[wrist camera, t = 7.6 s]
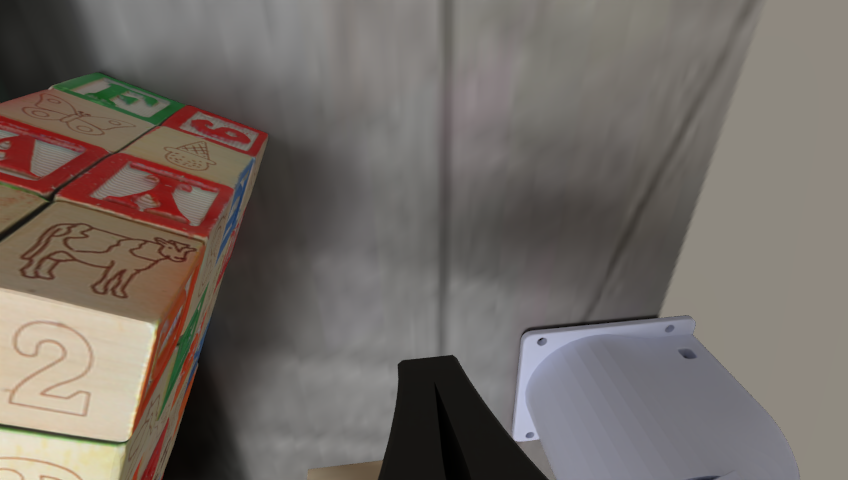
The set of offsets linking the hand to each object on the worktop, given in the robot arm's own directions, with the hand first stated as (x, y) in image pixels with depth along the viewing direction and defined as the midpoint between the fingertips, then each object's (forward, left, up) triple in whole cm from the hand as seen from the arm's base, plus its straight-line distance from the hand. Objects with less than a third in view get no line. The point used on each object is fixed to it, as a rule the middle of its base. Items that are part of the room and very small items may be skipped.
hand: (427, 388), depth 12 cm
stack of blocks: (+12, +5, -11) cm, 17 cm away
